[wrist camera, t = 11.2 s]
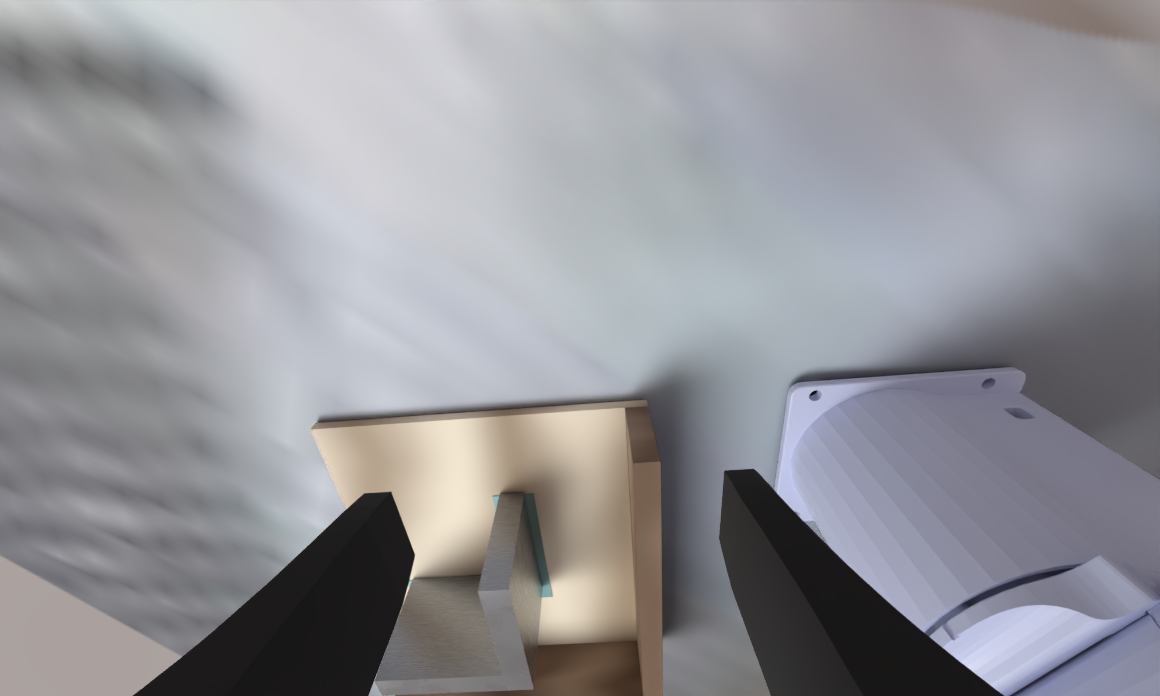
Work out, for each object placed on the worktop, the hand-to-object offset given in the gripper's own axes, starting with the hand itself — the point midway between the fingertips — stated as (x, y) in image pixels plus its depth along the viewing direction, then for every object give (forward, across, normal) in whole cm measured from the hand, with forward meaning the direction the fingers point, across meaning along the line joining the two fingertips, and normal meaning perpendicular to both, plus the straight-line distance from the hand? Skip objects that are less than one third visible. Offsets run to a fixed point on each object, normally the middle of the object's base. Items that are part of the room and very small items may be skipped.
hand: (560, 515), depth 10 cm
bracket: (+9, +6, +11) cm, 16 cm away
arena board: (+9, +4, +12) cm, 16 cm away
